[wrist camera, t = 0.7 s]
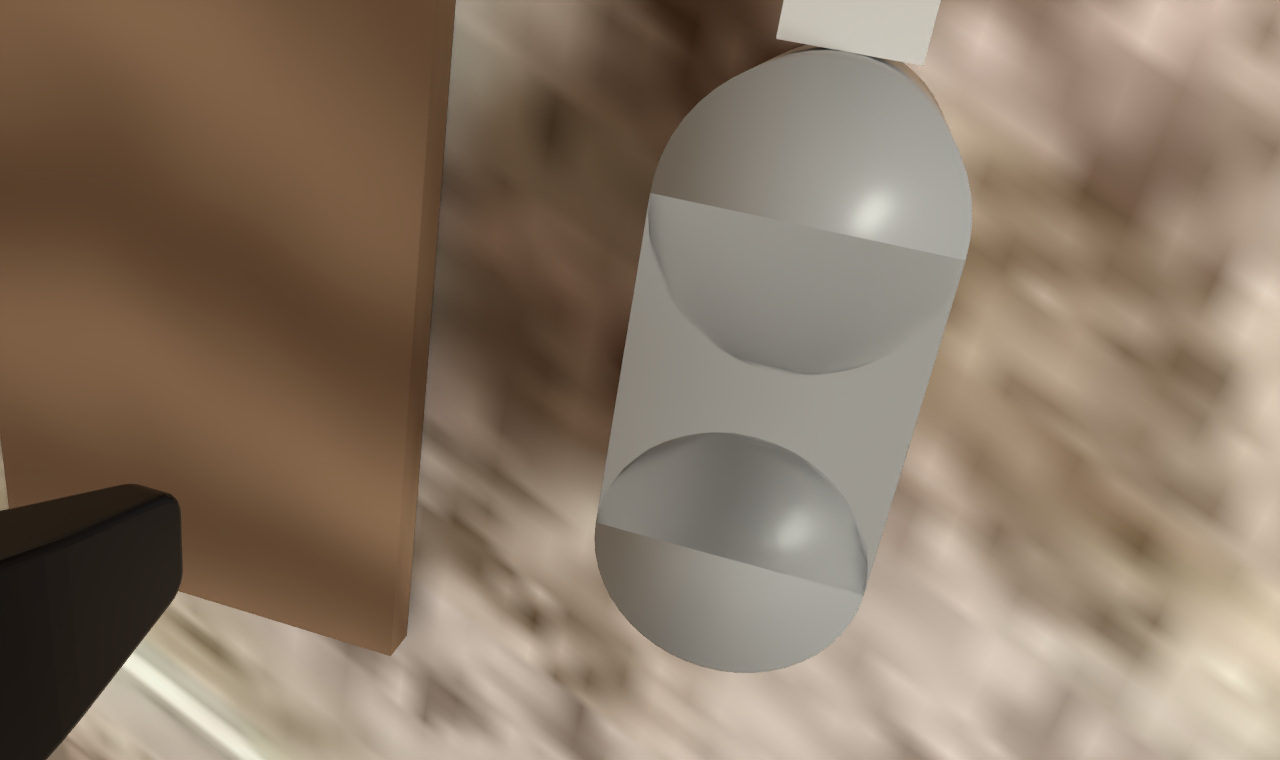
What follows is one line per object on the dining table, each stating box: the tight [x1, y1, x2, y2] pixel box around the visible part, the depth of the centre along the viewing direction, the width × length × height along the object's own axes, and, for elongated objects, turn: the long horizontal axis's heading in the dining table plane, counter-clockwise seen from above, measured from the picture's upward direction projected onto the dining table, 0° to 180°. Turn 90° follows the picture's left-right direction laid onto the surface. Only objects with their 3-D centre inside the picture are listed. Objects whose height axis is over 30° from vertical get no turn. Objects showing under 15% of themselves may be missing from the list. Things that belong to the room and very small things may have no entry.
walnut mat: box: [0, 0, 456, 656], centre depth 20 cm, size 16×10×1 cm, turn 171°
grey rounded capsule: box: [595, 0, 972, 673], centre depth 15 cm, size 11×4×5 cm, turn 171°
